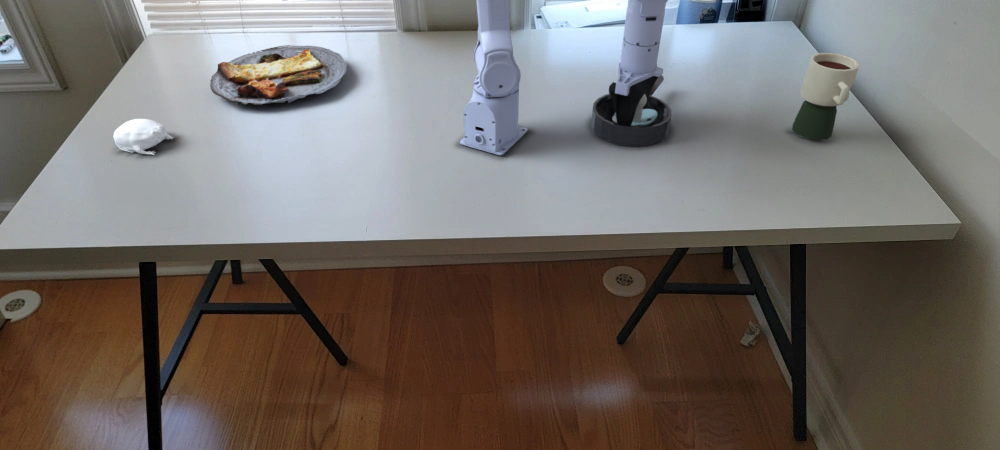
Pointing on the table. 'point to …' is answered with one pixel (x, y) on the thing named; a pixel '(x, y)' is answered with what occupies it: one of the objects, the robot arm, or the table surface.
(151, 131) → the white frog figurine
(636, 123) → the pacifier
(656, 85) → the pan handle
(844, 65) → the character mug
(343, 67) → the food plate
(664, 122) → the pan
